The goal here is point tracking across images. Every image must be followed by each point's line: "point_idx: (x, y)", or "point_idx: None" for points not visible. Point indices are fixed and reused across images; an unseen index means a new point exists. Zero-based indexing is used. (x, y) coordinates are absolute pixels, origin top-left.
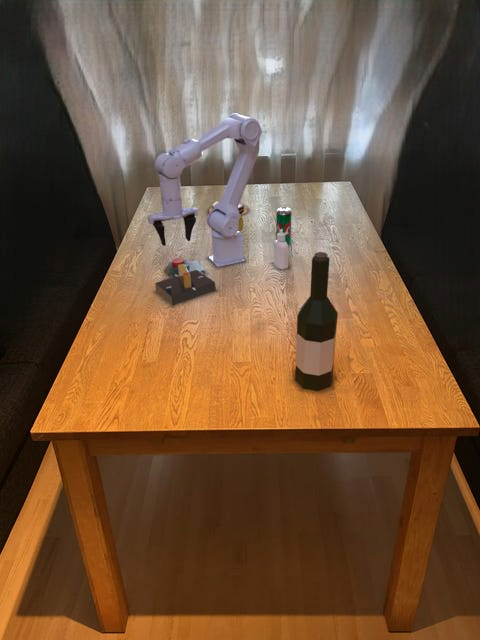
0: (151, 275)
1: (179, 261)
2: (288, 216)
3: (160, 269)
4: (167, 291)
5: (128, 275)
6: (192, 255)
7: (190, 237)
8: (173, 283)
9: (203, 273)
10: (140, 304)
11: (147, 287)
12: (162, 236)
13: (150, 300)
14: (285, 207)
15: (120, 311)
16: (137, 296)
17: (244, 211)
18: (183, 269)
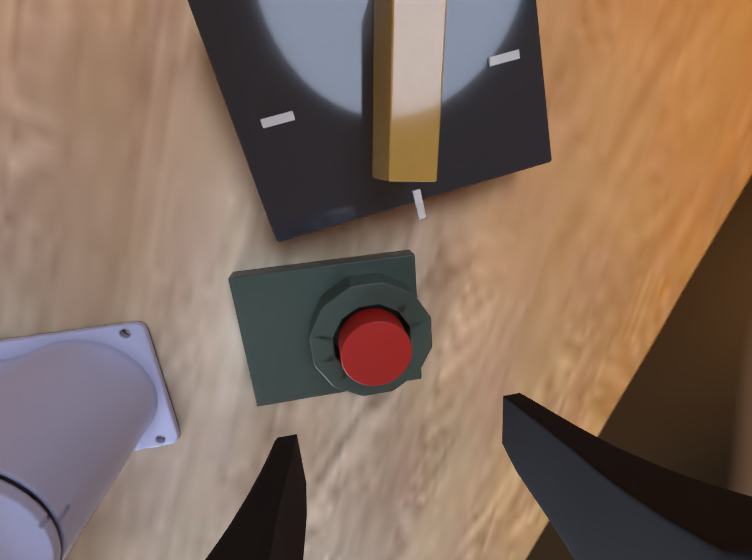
0: (488, 338)
1: (370, 337)
2: None
3: (436, 382)
4: (527, 5)
5: (572, 366)
6: None
7: (269, 457)
8: (462, 105)
9: (241, 271)
10: (624, 59)
11: (540, 227)
12: (595, 447)
13: (570, 81)
14: None
15: (722, 29)
16: (607, 153)
17: None
18: (419, 67)
